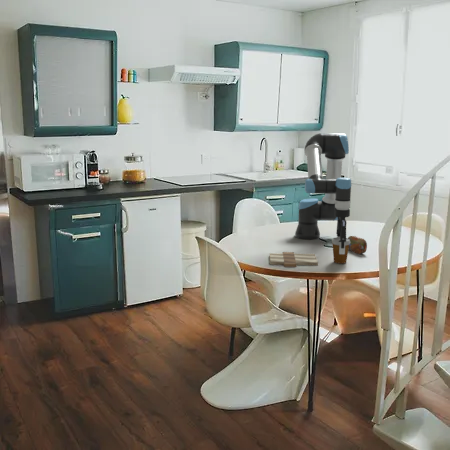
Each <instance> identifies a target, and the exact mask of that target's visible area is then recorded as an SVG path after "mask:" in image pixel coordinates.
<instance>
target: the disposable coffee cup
mask: <svg viewBox="0 0 450 450" xmlns="http://www.w3.org/2000/svg"><path fill="white" fill-rule="evenodd" d="M339 240H340V237H337V236H336V237H333V238H332V240H331V244H332V245H331V246H332V255H333V262H334V263H336V264H346V263H347V260H348V253H349V244H350V239H348V237H346V242H345V254H339V246H340V242H339Z"/></svg>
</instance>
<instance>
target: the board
mask: <svg viewBox="0 0 450 450" xmlns="http://www.w3.org/2000/svg"><path fill="white" fill-rule="evenodd" d="M269 264H270V265H275V266H277V265H278V266H284V267H285V268H286V267H289V268H292V267H293V268H295V267H297V266H319V262H318V259H317V256H316V254H315V253H294V252H293V251H290V252H289V251H283V252H282V253H277V252H275V253H271V252H270V253H269Z"/></svg>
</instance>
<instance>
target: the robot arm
mask: <svg viewBox="0 0 450 450" xmlns="http://www.w3.org/2000/svg"><path fill="white" fill-rule="evenodd" d="M349 152H350V151H349V138H348V136H347V134H346V133H340V132H338V133H334V132H332V133H330V132H329V133H322V132H321V133H316V134H314V135H313V136H311V137H309V139H308V140H307V141H306V143H305V146H304V154H305V156H306V160H307V179H305V180H304V192H305V193H306V194H318V195H320V194H323V195H324V196H323V197H322V199H321V200H319V198H316V197H315V198H304V199H301V200H300V201H299V202H298V203H299V204H298V220H297V221H298V223H297V227H296V229H295V232H294V234H295V235H294V237H296V238H297V239H300V240H301V239H302V240H316V239H317V240H318V239H319V238H320V237H321V233H320V228H319V225H318V221H337V223H336V232H335V233H336V237H340V240H339V242H340V246H339V254H345V242H346V238H347V223H348V222H347V220H346V218H349V217H350V216H351V209H350V208H351V196H352V195H351V192H352V179H351V178H350V177H342V169H343V168H342V166H343V160H344V159H345V158H346V155H348V154H349ZM322 155H324V157H325V158H326V159H327V161H326V175H325V178H323V177H324V176H323V166H322V158H321V157H322Z"/></svg>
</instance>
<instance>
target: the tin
mask: <svg viewBox="0 0 450 450" xmlns="http://www.w3.org/2000/svg"><path fill="white" fill-rule="evenodd" d="M347 238H348V239H350V244H349V249H348V251H350V252H353V253H355V254H359V255H360V254H364V253H366V251H367V248H368V243H367V241H366V239H365V238H361V237H358V236H356V235H350V236H348V237H347Z"/></svg>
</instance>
